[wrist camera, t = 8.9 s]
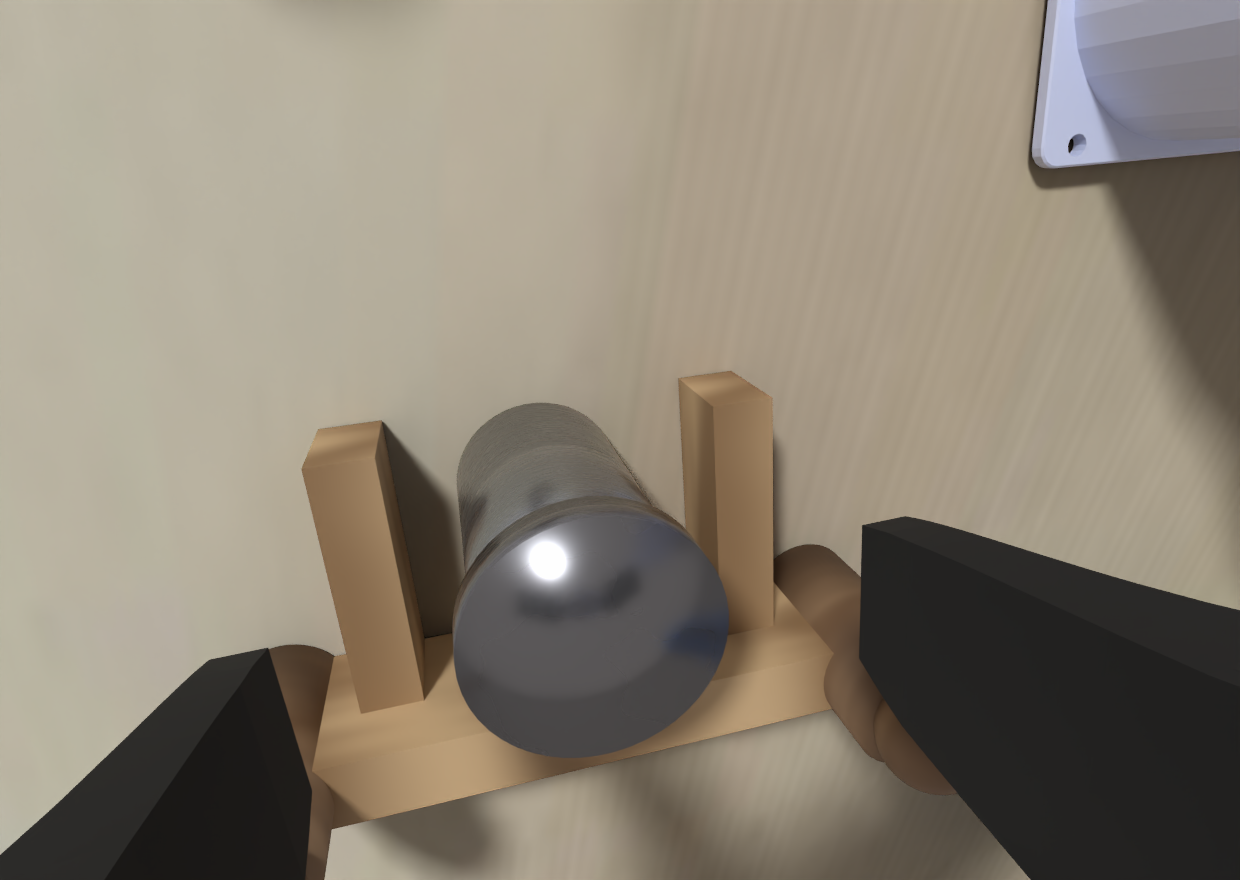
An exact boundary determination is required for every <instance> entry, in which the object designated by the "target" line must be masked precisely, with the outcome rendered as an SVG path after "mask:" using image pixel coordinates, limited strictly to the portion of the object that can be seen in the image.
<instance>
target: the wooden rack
mask: <svg viewBox="0 0 1240 880" xmlns="http://www.w3.org/2000/svg"><path fill="white" fill-rule="evenodd" d="M678 380H679V400H680V420H681V440H682V460H683V480H684V500H685V520H686V530H687V531H688V532H689V533H690V534H691V536H692V537H693V538H694V540H695V541H696V543H697V544H698V545H699V547H700V548H701V550H702V551H703V552H704V554H705V555H706V557H707V558H708V559H709V561H710V562H711V564H712V565H713V566H714V568H715V569H716V571H717V573H718V575H719V577H720V579H721V581H722V584H723V587H724V590H725V593H726V596H727V603H728V609H729V629H728V636H727V642H726V646H725V650H724V653H723V657H722V659H721V661H720V664H719V666H718V668H717V671H716V673H715V674H714V676H713V678H712V680H711V681H710V683H709V685H708V686H707V688H706V689H705V690H704V692H703V693H702V694H701V696H700V697H699V698H698V699H697V700H696V702H695V703H694V704H693V705H692V706H691V707H690V708H689V709H688V710H687V711H686V712H685V713H684V714H683V715H682V716H680V717H679V718H678V719H677V720H676V721H675V722H673V723H672V724H670V725H669V726H668V727H666V728H665V729H663V730H662V731H661V732H659V733H657V734H655V735H654V736H652V737H650V738H648V739H647V740H644V741H642V742H640V743H638V744H635V745H633V746H631V747H628V748H625V749H622V750H619V751H616V752H612V753H608V754H603V755H599V756H592V757H583V758H560V757H550V756H544V755H540V754H535V753H531V752H528V751H525V750H523V749H520V748H517V747H515V746H513V745H511V744H509V743H507V742H505V741H503V740H501V739H500V738H499V737H497V736H496V735H495V734H493V733H492V732H490V731H489V730H488V729H487V728H486V727H485V726H484V725H483V724H482V723H481V722H480V721H479V720H478V719H477V718H476V717H475V715H474V714H473V713H472V711H471V710H470V709H469V707H468V705H467V703H466V701H465V700H464V698H463V696H462V694H461V691H460V688H459V685H458V682H457V679H456V672H455V666H454V653H453V635H452V633H450V634H445V635H440V636H435V637H430V638H424V633H423V628H422V623H421V618H420V613H419V608H418V602H417V597H416V592H415V587H414V582H413V577H412V572H411V567H410V562H409V557H408V552H407V547H406V542H405V537H404V531H403V526H402V521H401V516H400V511H399V506H398V501H397V496H396V491H395V486H394V481H393V476H392V471H391V466H390V461H389V455H388V450H387V445H386V440H385V435H384V430H383V425H382V420H381V421H374V422H367V423H360V424H353V425H346V426H339V427H332V428H325V429H318V431H317V434H316V436H315V438H314V441H313V443H312V445H311V448H310V450H309V452H308V455H307V457H306V459H305V462H304V464H303V467H302V473H303V477H304V481H305V486H306V490H307V494H308V498H309V502H310V506H311V510H312V514H313V518H314V523H315V527H316V531H317V535H318V539H319V543H320V547H321V551H322V556H323V560H324V564H325V568H326V572H327V576H328V580H329V584H330V589H331V593H332V597H333V601H334V605H335V609H336V613H337V617H338V622H339V626H340V630H341V634H342V638H343V642H344V646H345V650H346V654H345V655H340V656H335V657H334V656H333V655H331V654H329V653H327V652H326V651H323V650H321V649H318V648H315V647H312V646H306V645H284V646H279V647H275V648H271V649H269V652H270V655H271V658H272V662H273V665H274V668H275V671H276V675H277V678H278V681H279V684H280V688H281V691H282V694H283V697H284V701H285V704H286V707H287V710H288V714H289V717H290V720H291V723H292V727H293V730H294V733H295V736H296V740H297V743H298V746H299V749H300V753H301V756H302V759H303V762H304V766H305V769H306V772H307V775H308V779H309V782H310V785H311V788H312V802H311V816H310V831H309V844H308V854H307V865H306V876H305V880H324V877H325V871H326V864H327V858H328V851H329V844H330V837H331V830H332V829H335V828H339V827H344V826H348V825H352V824H356V823H360V822H364V821H368V820H373V819H377V818H381V817H385V816H389V815H393V814H397V813H402V812H406V811H410V810H414V809H418V808H422V807H427V806H431V805H435V804H439V803H443V802H447V801H451V800H456V799H460V798H464V797H468V796H472V795H476V794H480V793H485V792H489V791H493V790H497V789H501V788H505V787H510V786H514V785H518V784H522V783H526V782H530V781H534V780H539V779H543V778H547V777H551V776H555V775H559V774H563V773H568V772H572V771H576V770H580V769H584V768H588V767H593V766H597V765H601V764H605V763H609V762H613V761H617V760H622V759H626V758H630V757H634V756H638V755H642V754H646V753H651V752H655V751H659V750H663V749H667V748H671V747H676V746H680V745H684V744H688V743H692V742H696V741H700V740H705V739H709V738H713V737H717V736H721V735H725V734H729V733H734V732H738V731H742V730H746V729H750V728H754V727H759V726H763V725H767V724H771V723H775V722H779V721H783V720H788V719H792V718H796V717H800V716H804V715H808V714H812V713H817V712H821V711H825V710H829V709H833V710H834V712H835V713H836V714H837V716H838V717H839V718H840V720H841V721H842V722H843V724H844V725H845V726H846V728H847V729H848V730H849V732H850V733H851V734H852V735H853V737H854V738H855V739H856V741H857V742H858V743H859V745H860V746H861V747H862V749H863V750H864V751H865V752H866V753H867V754H868V755H869V756H870V757H872V758H874V759H876V760H878V761H881V762H885V763H886V765H887V766H888V768H889V769H890V770H891V771H892V772H893V773H894V774H895V775H896V776H897V777H898V778H899V779H900V780H902V781H903V782H904V783H906V784H907V785H909V786H911V787H913V788H915V789H917V790H919V791H922V792H925V793H929V794H934V795H951V794H956V793H957V792H956V791H955V789H954V788H953V787H952V786H951V785H950V784H949V782H948V781H947V780H946V779H945V778H944V776H943V775H942V774H941V773H940V772H939V770H938V769H937V768H936V767H935V766H934V764H933V763H932V762H931V761H930V760H929V758H928V757H927V756H926V755H925V754H924V752H923V751H922V750H921V749H920V748H919V746H918V745H917V744H916V743H915V741H914V740H913V739H912V738H911V737H910V735H909V734H908V733H907V732H906V730H905V729H904V728H903V727H902V725H901V724H900V722H899V721H898V719H897V718H896V716H895V715H894V713H893V712H892V710H891V709H890V707H889V706H888V704H887V703H886V701H885V700H884V698H883V697H882V695H881V694H880V692H879V690H878V689H877V687H876V685H875V684H874V682H873V681H872V679H871V677H870V676H869V674H868V672H867V671H866V669H865V667H864V666H863V664H862V663H861V661H860V659H859V638H860V598H861V577H860V576H859V575H858V574H857V573H856V572H855V571H853V570H852V569H851V568H850V567H849V566H848V565H847V564H846V563H845V562H844V561H843V560H842V559H841V558H840V557H838V556H837V555H836V554H835V553H834V552H833V551H831V550H830V549H828V548H826V547H823V546H820V545H801V546H797V547H794V548H792V549H789V550H787V551H785V552H784V553H782V554H781V555H779V556H778V557H777V558H775V559H774V560H773V411H772V397H770V396H769V395H767V394H766V393H764V392H763V391H761V390H760V389H758V388H756V387H755V386H753V385H752V384H750V383H749V382H747V381H746V380H744V379H743V378H741V377H740V376H738V375H736V374H735V373H733V372H732V371H727V372H720V373H713V374H706V375H699V376H692V377H685V378H678Z"/></svg>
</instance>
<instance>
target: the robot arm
mask: <svg viewBox="0 0 1240 880" xmlns="http://www.w3.org/2000/svg"><path fill="white" fill-rule="evenodd" d="M1071 138H1073V142H1074V146H1073V149H1072V151H1071V152H1070V153H1069V152H1068V144H1069V141H1070V139H1071ZM1233 151H1240V0H1048V6H1047V15H1046V24H1045V33H1044V42H1043V52H1042V61H1041V70H1040V79H1039V89H1038V98H1037V107H1036V116H1035V125H1034V135H1033V144H1032V157H1033V159H1034V161H1035V163H1036V164H1037V165H1038V166H1039V167H1042V168H1064V167H1074V166H1085V165H1095V164H1106V163H1116V162H1127V161H1138V160H1148V159H1159V158H1169V157H1180V156H1191V155H1201V154H1212V153H1222V152H1233ZM859 659H860V661H861V663H862V664H863V666H864V667H865V669H866V671H867V672H868V674H869V676H870V677H871V679H872V681H873V682H874V684H875V685H876V687H877V689H878V690H879V692H880V694H881V695H882V697H883V698H884V700H885V701H886V703H887V704H888V706H889V707H890V709H891V710H892V712H893V713H894V715H895V716H896V718H897V719H898V721H899V722H900V724H901V725H902V727H903V728H904V729H905V730H906V732H907V733H908V734H909V735H910V737H911V738H912V739H913V740H914V741H915V743H916V744H917V745H918V746H919V748H920V749H921V750H922V751H923V752H924V754H925V755H926V756H927V757H928V758H929V760H930V761H931V762H932V763H933V764H934V766H935V767H936V768H937V769H938V770H939V772H940V773H941V774H942V775H943V776H944V778H945V779H946V780H947V781H948V782H949V784H950V785H951V786H952V787H953V788H954V789H955V791H956V792H957V793H958V794H959V795H960V797H961V798H962V799H963V800H964V801H965V802H966V804H967V805H968V806H969V807H970V808H971V810H972V811H973V812H974V813H975V814H976V815H977V817H978V818H979V819H980V820H981V821H982V823H983V824H984V825H985V826H986V827H987V828H988V830H989V831H990V832H991V833H992V834H993V836H994V837H995V838H996V839H997V840H998V841H999V843H1000V844H1001V845H1002V846H1003V847H1004V849H1005V850H1006V851H1007V852H1008V853H1009V854H1010V856H1011V857H1012V858H1013V859H1014V860H1015V862H1016V863H1017V864H1018V865H1019V866H1020V868H1021V869H1022V870H1023V871H1024V872H1025V873H1026V875H1027V876H1028V877H1029V878H1030V879H1031V880H1240V610H1236V609H1232V608H1228V607H1223V606H1219V605H1215V604H1211V603H1207V602H1203V601H1199V600H1196V599H1192V598H1188V597H1185V596H1181V595H1177V594H1174V593H1170V592H1166V591H1162V590H1159V589H1155V588H1151V587H1148V586H1144V585H1140V584H1136V583H1133V582H1130V581H1126V580H1123V579H1119V578H1116V577H1112V576H1109V575H1106V574H1102V573H1099V572H1095V571H1092V570H1089V569H1085V568H1082V567H1079V566H1075V565H1072V564H1069V563H1066V562H1063V561H1059V560H1056V559H1053V558H1050V557H1046V556H1043V555H1040V554H1037V553H1034V552H1030V551H1027V550H1024V549H1021V548H1018V547H1015V546H1011V545H1008V544H1005V543H1002V542H998V541H995V540H992V539H989V538H986V537H982V536H979V535H976V534H973V533H969V532H966V531H962V530H959V529H956V528H952V527H949V526H945V525H941V524H938V523H934V522H930V521H926V520H921V519H916V518H911V517H906V516H905V517H900V518H895V519H890V520H885V521H881V522H876V523H871V524H866V525H862V559H861V598H860V638H859ZM311 802H312V788H311V785H310V782H309V779H308V775H307V772H306V769H305V766H304V762H303V759H302V756H301V753H300V749H299V746H298V743H297V740H296V736H295V733H294V730H293V727H292V723H291V720H290V717H289V714H288V710H287V707H286V704H285V701H284V697H283V694H282V691H281V688H280V684H279V681H278V678H277V675H276V671H275V668H274V665H273V662H272V658H271V655H270V652H269V649H268V648H264V649H260V650H255V651H250V652H245V653H240V654H235V655H230V656H226V657H221V658H216V659H211V660H209V661H207V662H206V663H205V664H204V665H203V666H201V667H200V668H199V669H198V670H197V671H195V672H194V673H193V674H192V675H191V676H190V677H189V678H188V679H187V680H186V681H185V682H183V683H182V684H181V685H180V686H179V687H178V688H177V689H176V690H175V691H174V692H173V693H172V694H171V695H170V696H169V697H168V698H167V699H166V700H165V701H163V702H162V703H161V704H160V705H159V706H158V707H157V708H156V709H155V710H154V711H153V712H152V713H151V714H150V715H149V716H148V717H147V718H146V719H145V720H144V721H143V722H142V723H141V724H140V725H139V726H138V727H137V728H136V729H135V730H134V731H133V732H132V733H131V734H130V735H129V736H128V737H126V738H125V739H124V740H123V741H122V742H121V743H120V744H119V745H118V746H117V747H116V748H115V749H114V750H113V751H112V752H111V753H110V754H109V755H108V756H107V757H106V758H105V759H104V760H102V761H101V762H100V763H99V764H98V765H97V766H96V767H95V768H94V769H93V770H92V771H91V772H90V773H89V774H88V775H87V776H86V777H85V778H84V779H83V780H82V781H81V782H80V783H79V784H77V785H76V786H75V787H74V788H73V789H72V790H71V791H70V792H69V793H68V794H67V795H66V796H65V797H64V798H63V799H62V800H61V801H60V802H59V803H58V804H56V805H55V806H54V807H53V808H52V809H51V810H50V811H49V812H48V813H47V814H45V815H44V816H43V817H42V818H41V819H40V820H39V821H38V822H37V823H35V824H34V825H33V826H32V827H31V828H30V829H29V830H28V831H26V832H25V833H24V834H23V835H22V836H21V837H20V838H19V839H18V840H16V841H15V842H14V843H13V844H12V845H11V846H10V847H9V848H8V849H6V850H5V851H4V852H3V853H2V854H1V855H0V880H305V876H306V865H307V854H308V844H309V831H310V816H311Z"/></svg>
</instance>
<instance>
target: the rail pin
mask: <svg viewBox="0 0 1240 880" xmlns="http://www.w3.org/2000/svg"><path fill="white" fill-rule="evenodd" d="M457 491H458V502H459V513H460V523H461V534H462V544H463V555H464V566H465V577H464V579H463V582H462V584H461V586H460V588H459V591H458V595H457V598H456V601H455V606H454V612H453V619H452V635H453V653H454V666H455V672H456V679H457V682H458V685H459V688H460V691H461V694H462V696H463V698H464V700H465V701H466V703H467V705H468V707H469V709H470V710H471V711H472V713H473V714H474V715H475V717H476V718H477V719H478V720H479V721H480V722H481V723H482V724H483V725H484V726H485V727H486V728H487V729H488V730H489V731H490V732H492V733H493V734H495V735H496V736H497V737H499V738H500V739H501V740H503V741H505V742H507V743H509V744H511V745H513V746H515V747H517V748H520V749H523V750H525V751H528V752H531V753H535V754H540V755H544V756H550V757H560V758H583V757H592V756H599V755H603V754H608V753H612V752H616V751H619V750H622V749H625V748H628V747H631V746H633V745H635V744H638V743H640V742H642V741H644V740H647V739H648V738H650V737H652V736H654V735H655V734H657V733H659V732H661V731H662V730H663V729H665V728H666V727H668V726H669V725H670V724H672V723H673V722H675V721H676V720H677V719H678V718H679V717H680V716H682V715H683V714H684V713H685V712H686V711H687V710H688V709H689V708H690V707H691V706H692V705H693V704H694V703H695V702H696V700H697V699H698V698H699V697H700V696H701V694H702V693H703V692H704V690H705V689H706V688H707V686H708V685H709V683H710V681H711V680H712V678H713V676H714V674H715V673H716V671H717V668H718V666H719V664H720V661H721V659H722V657H723V653H724V650H725V646H726V642H727V636H728V629H729V609H728V603H727V596H726V593H725V590H724V587H723V584H722V581H721V579H720V577H719V575H718V573H717V571H716V569H715V568H714V566H713V565H712V564H711V562H710V561H709V559H708V558H707V557H706V555H705V554H704V552H703V551H702V550H701V548H700V547H699V545H698V544H697V543H696V541H695V540H694V538H693V537H692V536H691V534H690V533H689V532H688V531H687V530H686V529H685V528H684V527H683V526H682V525H681V524H680V523H678V522H677V521H676V520H674V519H673V518H672V517H670V516H669V515H668V514H666V513H664V512H662V511H660V510H659V509H657V508H655V507H653V506H652V505H651V504H650V502H649V501H648V499H647V498H646V496H645V495H644V493H643V492H642V490H641V489H640V487H639V486H638V484H637V483H636V481H635V480H634V478H633V477H632V475H631V474H630V472H629V471H628V469H627V468H626V466H625V465H624V463H623V461H622V460H621V458H620V457H619V455H618V454H617V452H616V451H615V449H614V448H613V446H612V445H611V443H610V442H609V440H608V439H607V437H606V436H605V435H604V433H603V432H602V430H601V429H600V428H599V427H598V426H597V425H596V424H595V423H594V422H593V421H592V420H590V419H589V418H588V417H587V416H585V415H583V414H582V413H580V412H578V411H576V410H574V409H571V408H569V407H566V406H562V405H558V404H551V403H532V404H525V405H521V406H517V407H514V408H511V409H508V410H506V411H504V412H502V413H500V414H498V415H496V416H495V417H493V418H492V419H490V420H489V421H488V422H486V423H485V424H484V425H483V426H482V427H481V428H480V429H479V430H478V431H477V432H476V433H475V434H474V436H473V437H472V438H471V439H470V441H469V443H468V444H467V446H466V448H465V450H464V452H463V454H462V456H461V460H460V463H459V467H458V473H457Z"/></svg>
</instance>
